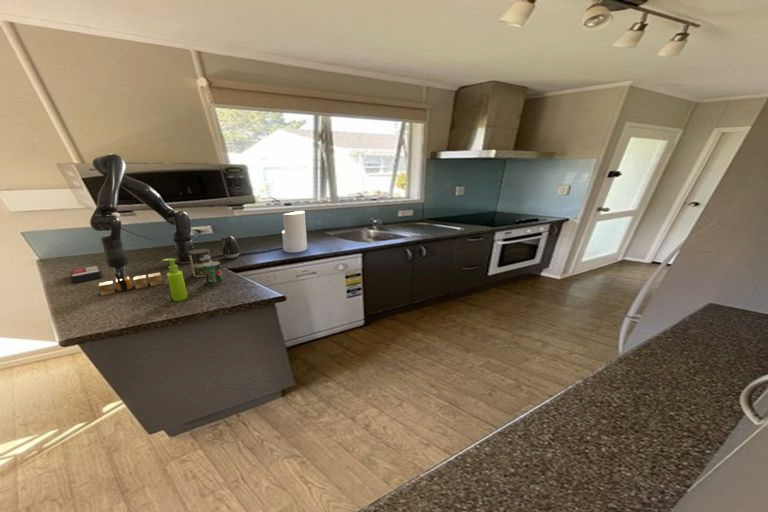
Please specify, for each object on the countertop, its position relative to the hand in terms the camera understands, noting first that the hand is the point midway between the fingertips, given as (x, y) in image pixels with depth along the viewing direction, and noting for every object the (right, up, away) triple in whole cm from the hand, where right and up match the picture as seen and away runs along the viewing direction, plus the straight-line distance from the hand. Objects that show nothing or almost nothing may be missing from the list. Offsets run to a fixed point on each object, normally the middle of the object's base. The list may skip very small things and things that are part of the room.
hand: (124, 287), depth 145 cm
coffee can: (+26, +5, +22) cm, 35 cm away
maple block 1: (-5, -2, -4) cm, 6 cm away
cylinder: (+65, +21, +71) cm, 99 cm away
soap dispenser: (+34, -5, -8) cm, 35 cm away
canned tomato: (+40, +1, +10) cm, 41 cm away
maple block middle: (+5, 0, +4) cm, 7 cm away
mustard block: (0, 0, 0) cm, 0 cm away
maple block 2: (+10, +1, +8) cm, 13 cm away
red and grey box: (-34, +4, +14) cm, 37 cm away
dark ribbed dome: (+28, +15, +50) cm, 59 cm away
